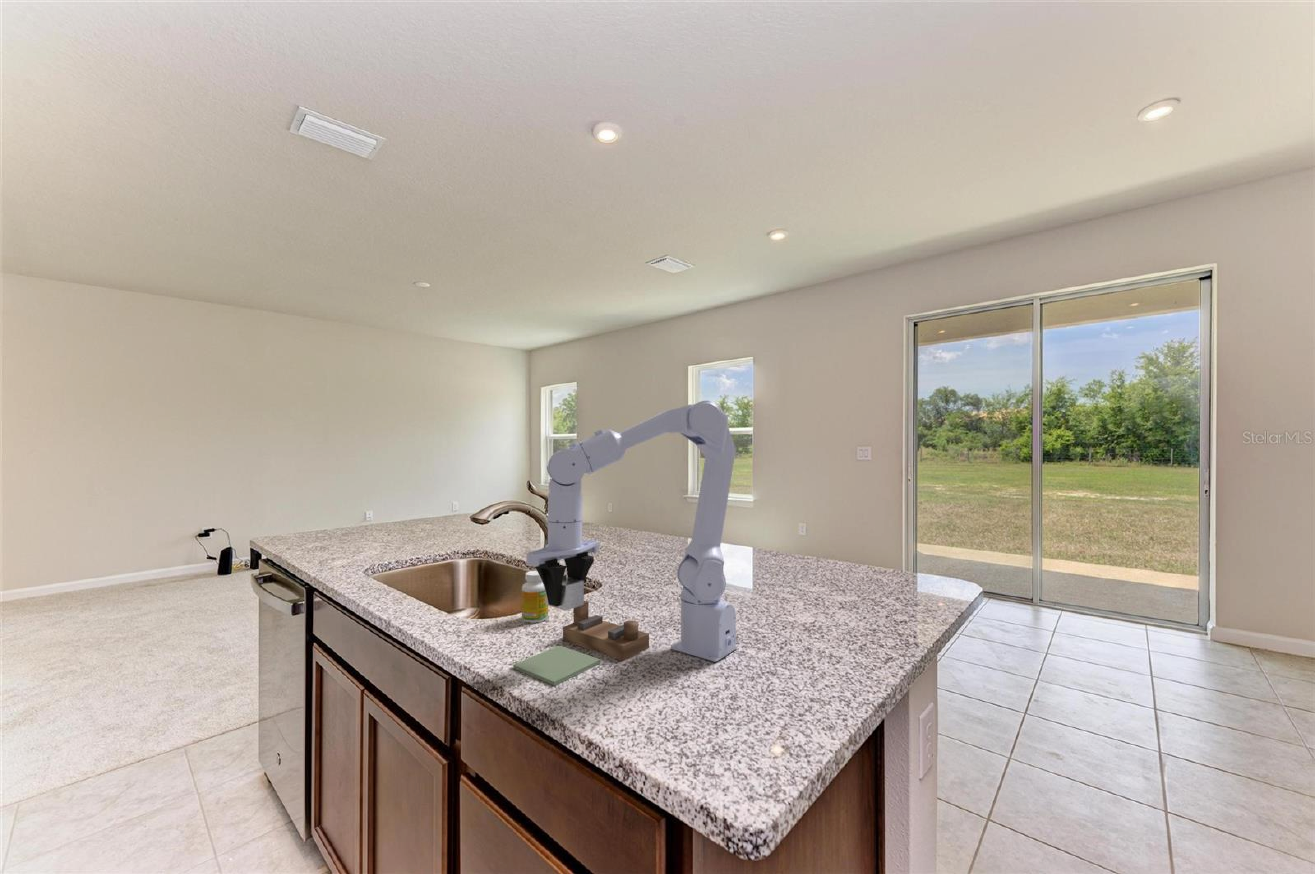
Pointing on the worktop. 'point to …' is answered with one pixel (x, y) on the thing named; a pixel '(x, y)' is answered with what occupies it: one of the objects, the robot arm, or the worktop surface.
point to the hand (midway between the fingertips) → (564, 601)
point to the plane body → (605, 635)
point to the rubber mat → (556, 665)
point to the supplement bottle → (534, 599)
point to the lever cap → (570, 594)
